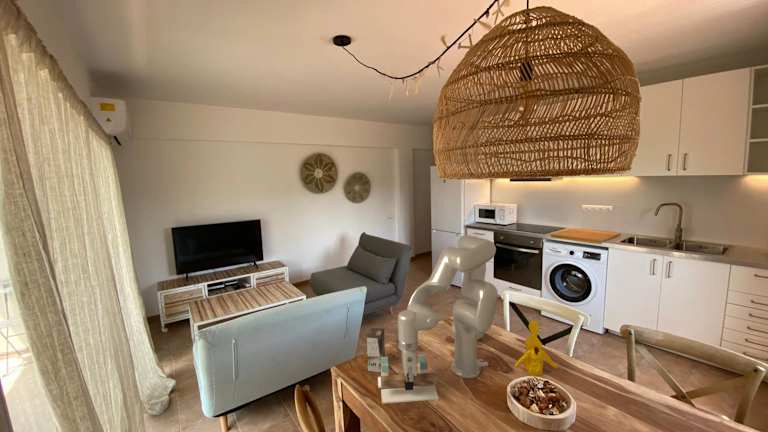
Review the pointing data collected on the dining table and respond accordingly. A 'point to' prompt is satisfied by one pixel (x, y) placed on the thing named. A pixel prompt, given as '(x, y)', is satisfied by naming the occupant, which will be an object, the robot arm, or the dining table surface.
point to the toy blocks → (422, 364)
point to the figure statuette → (534, 352)
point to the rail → (400, 379)
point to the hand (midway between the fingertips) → (408, 385)
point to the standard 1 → (383, 369)
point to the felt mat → (409, 394)
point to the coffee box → (375, 349)
